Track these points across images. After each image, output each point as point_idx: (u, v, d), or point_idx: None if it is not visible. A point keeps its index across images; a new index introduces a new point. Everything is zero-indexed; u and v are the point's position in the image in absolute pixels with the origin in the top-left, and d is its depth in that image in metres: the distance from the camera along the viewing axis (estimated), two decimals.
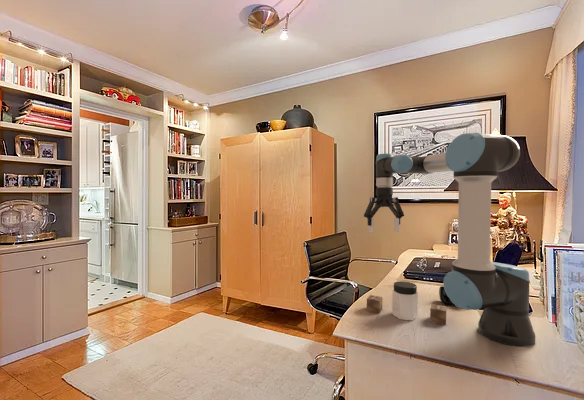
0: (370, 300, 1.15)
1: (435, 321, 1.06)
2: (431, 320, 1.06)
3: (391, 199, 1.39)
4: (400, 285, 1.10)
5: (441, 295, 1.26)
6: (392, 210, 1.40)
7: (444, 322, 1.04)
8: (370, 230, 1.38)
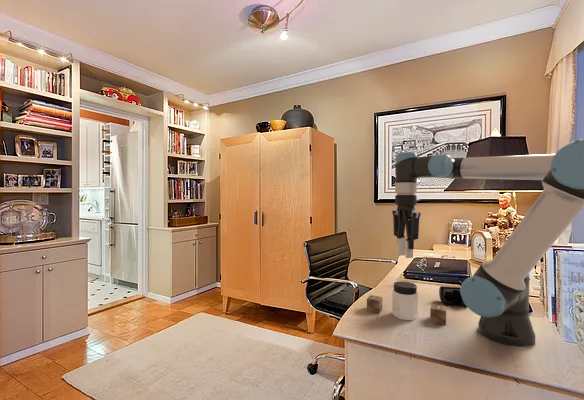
0: (370, 300, 1.15)
1: (435, 321, 1.06)
2: (431, 320, 1.06)
3: (408, 210, 1.07)
4: (400, 285, 1.10)
5: (441, 295, 1.26)
6: None
7: (444, 322, 1.04)
8: None
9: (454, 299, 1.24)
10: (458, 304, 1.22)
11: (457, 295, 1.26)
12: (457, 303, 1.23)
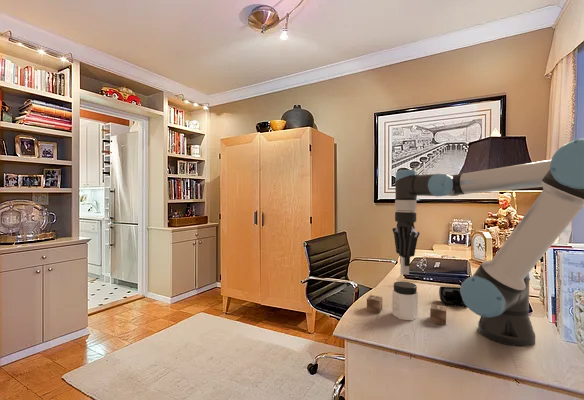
0: (370, 300, 1.15)
1: (435, 321, 1.06)
2: (431, 320, 1.06)
3: (408, 228, 1.08)
4: (400, 285, 1.10)
5: (441, 295, 1.26)
6: None
7: (444, 322, 1.04)
8: None
9: (454, 299, 1.24)
10: (458, 304, 1.22)
11: (457, 295, 1.26)
12: (457, 303, 1.23)
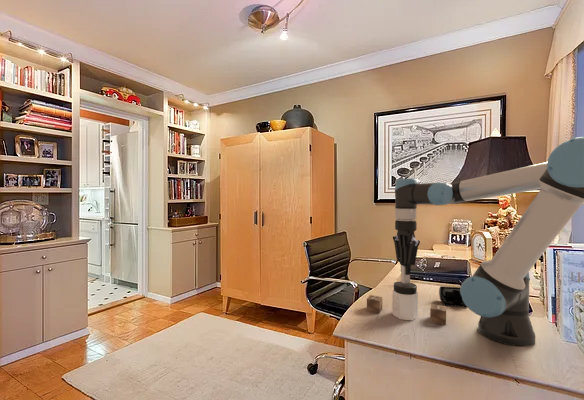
0: (370, 300, 1.15)
1: (435, 321, 1.06)
2: (431, 320, 1.06)
3: (408, 236, 1.08)
4: (400, 285, 1.10)
5: (441, 295, 1.26)
6: None
7: (444, 322, 1.04)
8: None
9: (454, 299, 1.24)
10: (458, 304, 1.22)
11: (457, 295, 1.26)
12: (457, 303, 1.23)
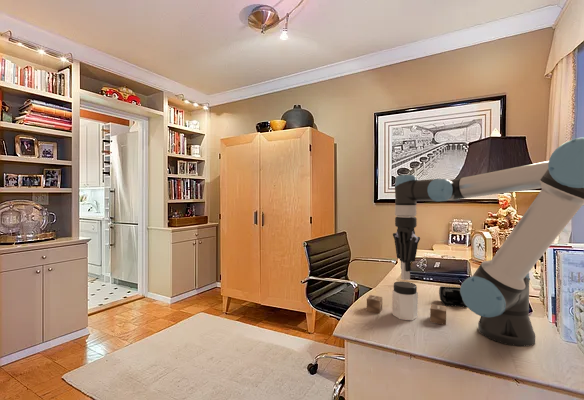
0: (370, 300, 1.15)
1: (435, 321, 1.06)
2: (431, 320, 1.06)
3: (408, 233, 1.08)
4: (400, 285, 1.10)
5: (441, 295, 1.26)
6: None
7: (444, 322, 1.04)
8: None
9: (454, 299, 1.24)
10: (458, 304, 1.22)
11: (457, 295, 1.26)
12: (457, 303, 1.23)
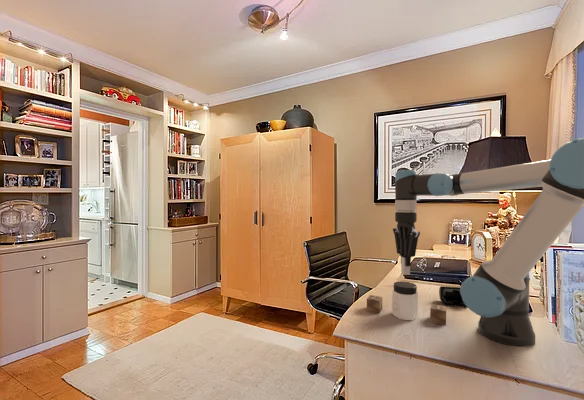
0: (370, 300, 1.15)
1: (435, 321, 1.06)
2: (431, 320, 1.06)
3: (408, 228, 1.08)
4: (400, 285, 1.10)
5: (441, 295, 1.26)
6: None
7: (444, 322, 1.04)
8: None
9: (454, 299, 1.24)
10: (458, 304, 1.22)
11: (457, 295, 1.26)
12: (457, 303, 1.23)
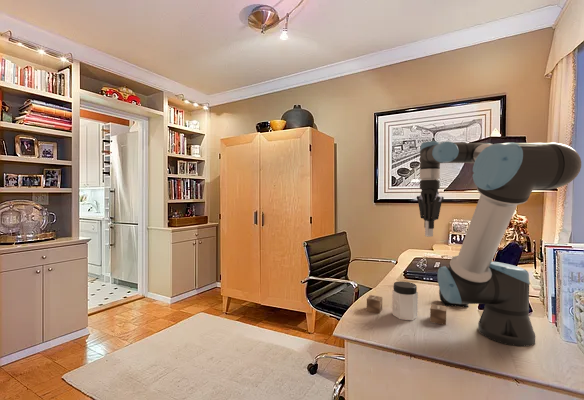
0: (370, 300, 1.15)
1: (435, 321, 1.06)
2: (431, 320, 1.06)
3: (432, 193, 1.20)
4: (400, 285, 1.10)
5: (441, 295, 1.26)
6: None
7: (444, 322, 1.04)
8: None
9: None
10: (458, 304, 1.22)
11: None
12: None
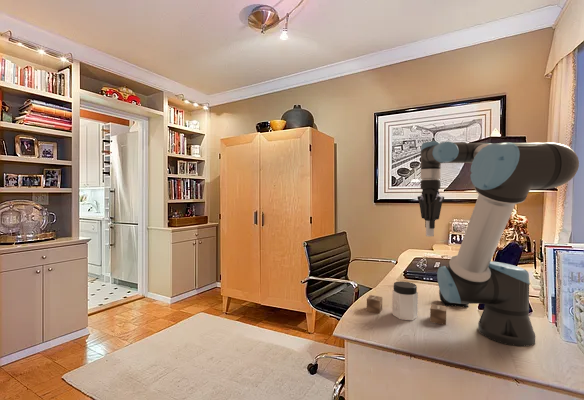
0: (370, 300, 1.15)
1: (435, 321, 1.06)
2: (431, 320, 1.06)
3: (433, 193, 1.20)
4: (400, 285, 1.10)
5: (441, 295, 1.26)
6: None
7: (444, 322, 1.04)
8: None
9: None
10: (458, 304, 1.22)
11: None
12: (457, 303, 1.23)
